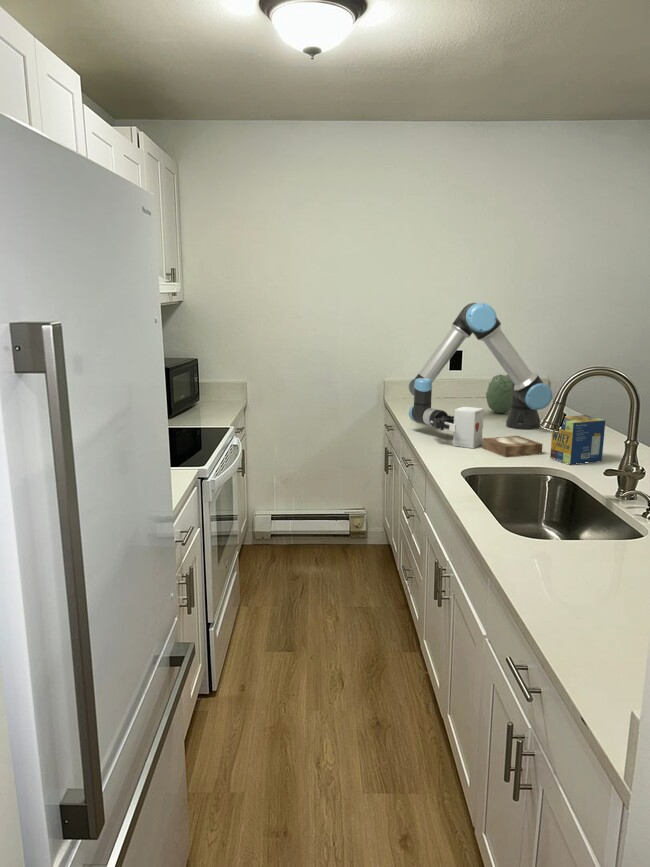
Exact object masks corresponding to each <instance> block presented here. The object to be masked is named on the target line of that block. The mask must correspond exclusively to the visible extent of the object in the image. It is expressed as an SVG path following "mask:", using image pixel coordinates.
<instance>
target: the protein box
mask: <svg viewBox="0 0 650 867" xmlns="http://www.w3.org/2000/svg"><path fill="white" fill-rule="evenodd" d="M564 417H565V419H564V422H563V425H562V427H561V429H560V431H558V432H555V431H552V430H551V442H550V457H549V459H550V458H552V459H555V460H558V461H557V462H559V461H561V462H560V463H562V462H564V463H563V464H565V463H568V464H576V463H584V464H586V463H585V462H592V463H598V462H597V461H601V462H602V461H603V452H604V450H603V449H604V441H605V440H604V439H605V430H606V419H602V418H598V417H595V416H589V415H585V414H583V415H582V414H581V415H573V416H570V415H569V416H564ZM552 459H551V460H552ZM555 460H554V461H555ZM568 464H567V465H568ZM576 465H577V464H576Z"/></svg>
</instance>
